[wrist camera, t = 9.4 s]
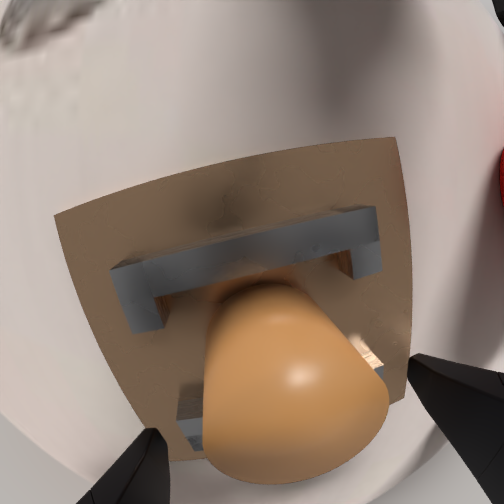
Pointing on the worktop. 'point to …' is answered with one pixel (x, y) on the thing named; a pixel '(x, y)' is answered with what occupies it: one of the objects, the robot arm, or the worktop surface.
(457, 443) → the robot arm
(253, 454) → the cap
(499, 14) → the film camera
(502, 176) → the ceramic cup
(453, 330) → the worktop surface
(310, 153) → the socket
